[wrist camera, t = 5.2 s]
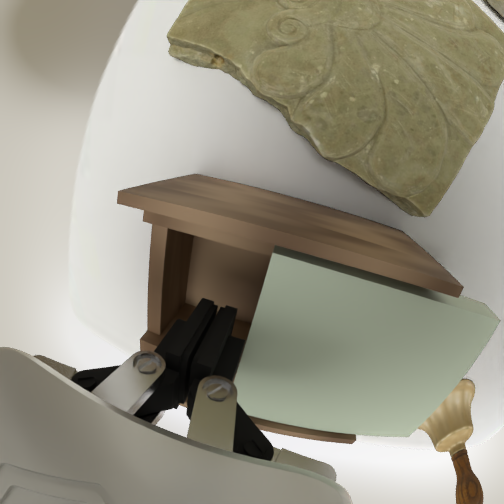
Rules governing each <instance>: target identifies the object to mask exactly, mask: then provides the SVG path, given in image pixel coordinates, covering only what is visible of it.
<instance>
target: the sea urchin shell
mask: <svg viewBox="0 0 504 504" xmlns="http://www.w3.org/2000/svg"><path fill="white" fill-rule="evenodd" d="M487 1H488V3H489V4H490V5H491V6H492V7H493V8H494V9H495V10H496V11H497V12H498V13H499V14H500V15H501V16H502V17H504V0H487Z"/></svg>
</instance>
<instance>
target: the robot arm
mask: <svg viewBox="0 0 504 504" xmlns="http://www.w3.org/2000/svg"><path fill="white" fill-rule="evenodd" d="M217 308H218V306H217V305H214V301H212V300H208V299H205V298H202V299H201V301H200V302H199V304H198V305H197V306H196V308H195V309H194V311H193V312H192V314H191V315H190V317H189V318H188V320H187V321H184V320H181V319H177V320H176V322H175V323H174V324H173V326H172V327H171V328H170V330H169V331H168V332H167V334H166V335H165V337H164V338H163V339H162V341H161V342H160V343H159V345H158V346H157V348H156V349H155V350H154V352H153V351H139V352H136V353H135V354H133V355H132V356H131V357H130V358H129V359H127V360H126V361H125V362H124V363H123V364H122V365H120V366H113V367H106V368H98V369H90V370H83V371H79V372H77V371H76V369H75V368H72V367H70V366H67V365H64V364H61V363H59V362H57V361H54V360H52V359H49V358H47V357H45V356H41V355H35V356H31V355H30V354H27V353H25V352H23V351H20V350H17V349H13V348H9V347H0V504H352V500H351V497H350V495H349V494H348V492H347V491H346V489H345V488H343V487H342V486H341V485H339V484H338V483H336V482H335V481H336V472H335V470H334V469H333V467H332V466H330V465H328V464H326V463H324V462H320V461H317V460H314V459H311V458H308V457H305V456H302V455H299V454H296V453H294V452H291V451H288V450H286V449H283V448H282V449H281V450H280V449H277V448H275V447H273V446H272V444H271V443H270V442H269V440H268V439H267V438H266V437H265V436H264V435H263V433H262V432H261V431H260V430H259V428H258V427H257V426H256V425H255V424H254V422H253V421H252V420H251V419H250V417H249V416H248V415H247V414H246V412H245V411H244V410H243V409H242V407H241V406H240V405H239V403H238V402H237V394H238V393H237V388H236V386H235V384H234V383H233V379H234V376H235V373H236V370H237V367H238V364H239V360H240V357H241V354H242V350H243V347H244V343H245V340H244V339H240V338H237V337H234V336H231V335H232V331H233V327H234V323H235V318H236V314H237V310H238V308H234V307H231V306H228V305H226V306H225V308H224V307H220V309H219V311H218V313H217ZM216 313H217V315H216ZM187 397H188V398H187ZM186 399H187V416H188V417H189V419H190V426H189V430H188V434H187V438H186V437H183V436H181V435H178V434H175V433H173V432H170V431H167V430H165V429H163V428H160V427H158V426H155V425H156V424H157V422H158V421H159V420H160V419H161V418H162V416H163V415H164V413H165V410H168V409H172V408H175V409H177V407H178V406H179V404H184V403H185V401H186Z"/></svg>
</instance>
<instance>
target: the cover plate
mask: <svg viewBox="0 0 504 504" xmlns="http://www.w3.org/2000/svg"><path fill="white" fill-rule="evenodd" d="M499 322H500V320H499V318H498V317H497V316H496V315H495V314H494V313H493V312H492V311H491V310H490V309H489V307H488V306H487V305H486V304H484V303H482V302H479V301H476V300H473V299H470V298H467V297H464V296H461V295H460V296H459V298H456V297H453V296H450V295H446V294H443V293H440V292H437V291H433V290H430V289H427V288H423V287H420V286H416V285H413V284H410V283H406V282H403V281H400V280H396V279H393V278H389V277H386V276H383V275H379V274H376V273H372V272H369V271H365V270H362V269H358V268H355V267H351V266H348V265H344V264H341V263H337V262H334V261H330V260H327V259H323V258H320V257H316V256H313V255H309V254H305V253H302V252H298V251H295V250H291V249H288V248H284V247H280V246H277V245H275V247H274V250H273V253H272V257H271V260H270V263H269V267H268V270H267V274H266V277H265V281H264V284H263V288H262V291H261V294H260V298H259V301H258V305H257V308H256V311H255V315H254V318H253V321H252V325H251V328H250V331H249V335H248V338H247V341H246V344H245V348H244V351H243V354H242V357H241V361H240V364H239V367H238V370H237V373H236V377H235V380H234V384H235V386H236V388H237V393H238V394H237V402H238V403H239V405H240V406H241V407H242V409H243V410H244V411H245V412H246V414H247V415H250V416H254V417H257V418H261V419H265V420H270V421H274V422H278V423H283V424H288V425H293V426H298V427H303V428H309V429H315V430H322V431H329V432H336V433H345V434H355V435H367V436H385V437H409V436H410V435H411V434H412V433H413V432H414V431H415V430H416V429H417V428H418V427H419V426H420V425H421V424H423V423H424V421H425V420H426V419H427V418H428V417H429V416H430V415H431V414H432V413H433V412H434V411H435V410H436V409H437V408H438V407H439V406H440V405H441V403H442V402H443V401H444V400H445V399H446V398H447V397H448V395H449V394H450V393H451V392H452V391H453V389H454V388H455V387H456V386H457V384H458V383H459V382H460V381H461V379H462V378H463V377H464V376H465V374H466V373H467V372H468V370H469V369H470V367H471V366H472V365H473V363H474V362H475V360H476V359H477V358H478V356H479V355H480V353H481V352H482V350H483V349H484V347H485V346H486V344H487V342H488V341H489V339H490V338H491V336H492V334H493V333H494V331H495V329H496V328H497V326H498V324H499Z"/></svg>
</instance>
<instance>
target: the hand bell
mask: <svg viewBox="0 0 504 504" xmlns="http://www.w3.org/2000/svg"><path fill="white" fill-rule="evenodd" d="M474 394H475V385H474V383H473V382H472V381H470V380H467V379H461V381H460V382H459V383H458V384H457V386H456V387H455V388H454V389H453V391H452V392H451V393H450V394H449V395H448V397H447V398H446V399H445V400H444V401H443V402H442V403H441V405H440V406H439V407H438V408H437V409H436V410H435V411H434V412H433V413H432V414H431V415H430V416H429V417H428V418H427V419H426V420H425V421H424V423H423V424H421V425H420V426H419V427H418V429H421V430H424V431H425V432H426V433H427V434H428V435H429V437H430V438H431V440H432V442H433V444H434V447H435V449H436V451H438V452H447V451H448V452H450V455H451V457H452V458H451V459H452V461H453V465H454V468H455V471H456V475H457V485H456V504H483V491H482V487H481V484H480V482H479V480H478V478H477V477H476V476H475V474H474V473H473V471H472V470H471V466H470V462H469V458H468V455H467V450H466V447H465V442H466V441H467V440H468V439H469V437H470V436H471V435H472V433H473V424H472V420H471V402H472V400H473V397H474Z"/></svg>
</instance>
